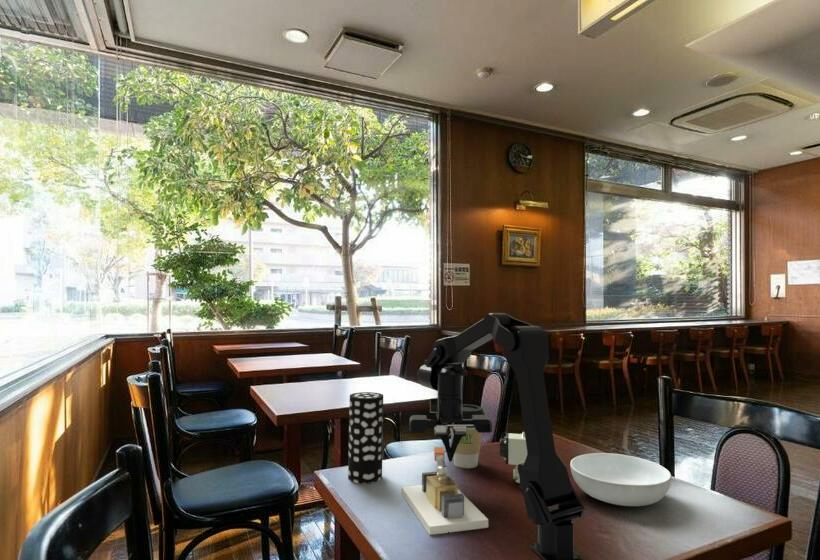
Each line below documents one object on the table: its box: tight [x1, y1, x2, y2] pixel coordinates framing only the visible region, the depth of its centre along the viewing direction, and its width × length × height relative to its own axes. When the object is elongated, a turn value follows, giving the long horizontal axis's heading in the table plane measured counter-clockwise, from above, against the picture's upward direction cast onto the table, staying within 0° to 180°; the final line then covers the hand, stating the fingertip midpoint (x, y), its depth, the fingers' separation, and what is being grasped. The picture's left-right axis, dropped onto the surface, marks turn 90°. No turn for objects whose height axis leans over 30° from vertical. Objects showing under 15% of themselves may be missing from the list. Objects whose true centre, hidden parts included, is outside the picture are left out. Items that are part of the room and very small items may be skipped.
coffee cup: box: [449, 403, 486, 469], centre depth 131 cm, size 10×10×15 cm
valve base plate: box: [400, 484, 489, 536], centre depth 103 cm, size 20×12×2 cm, turn 16°
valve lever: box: [433, 446, 448, 481], centre depth 109 cm, size 14×2×3 cm, turn 0°
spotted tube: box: [347, 391, 384, 484], centre depth 121 cm, size 8×8×20 cm
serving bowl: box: [569, 452, 672, 507], centre depth 110 cm, size 21×21×7 cm
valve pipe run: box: [421, 471, 465, 519], centre depth 103 cm, size 16×5×4 cm, turn 16°
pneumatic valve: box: [499, 431, 527, 485], centre depth 119 cm, size 6×12×12 cm, turn 78°
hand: (450, 461), depth 113 cm, fingers closed
